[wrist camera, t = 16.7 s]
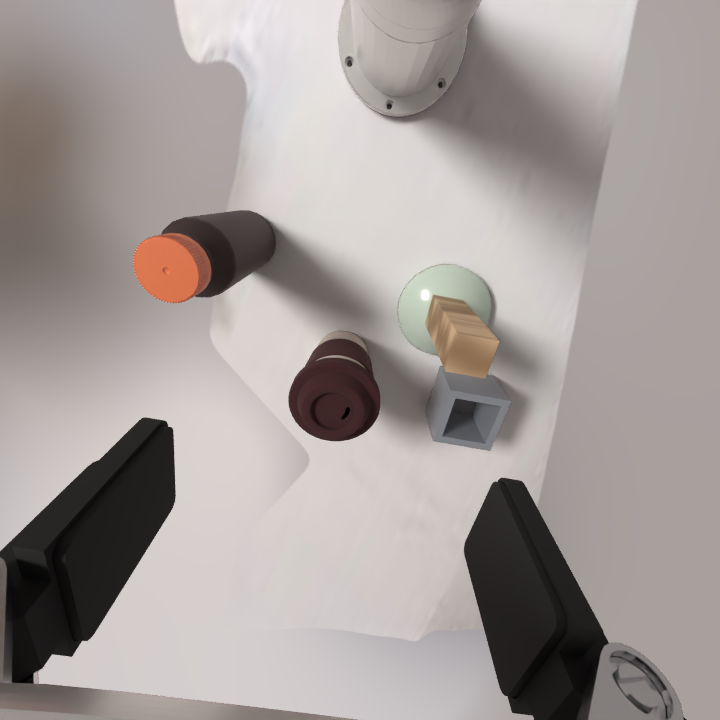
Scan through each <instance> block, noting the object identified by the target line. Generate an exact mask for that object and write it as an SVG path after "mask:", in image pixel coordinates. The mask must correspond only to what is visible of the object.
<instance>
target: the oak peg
mask: <svg viewBox="0 0 720 720" xmlns="http://www.w3.org/2000/svg"><path fill="white" fill-rule="evenodd" d="M425 325H426V328H427V330H428V332H429V334H430V337H431V339H432V341H433V344H434V346H435V348H436V351H437V353H438V355H439V358H440V360H441V362H442V364H443V367H444V369H445V371H446V372H451V373H456V374H462V375H468V376H473V377H479V378H485V379H486V376H487V373H488V371H489V368H490V366H491V363H492V360H493V358H494V355H495V352H496V350H497V347H498V344H499V342H500V341H499V340H498V339H497V337H496V336H495V335H494V334H493V333H492V332H491V331H490V330H489V328H488V327H487V326H486V325H485V324H484V323H483V322H482V321H481V319H480V318H479V317H478V316H477V315H476V314H475V313H474V312H473V311H472V309H471V308H470V307H469V306H468V305H467V304H466V303H465V302H464V300H459V299H454V298H449V297H443V296H438V295H433V296H432V300H431V304H430V307H429V311H428V314H427V318H426V322H425Z"/></svg>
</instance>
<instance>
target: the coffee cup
mask: <svg viewBox="0 0 720 720" xmlns="http://www.w3.org/2000/svg"><path fill="white" fill-rule="evenodd" d="M289 408H290V411H291V414H292V416H293V418H294V420H295V421H296V422H297V424H298V425H299V426H300V427H301V428H302V429H303V430H305V431H306V432H307V433H309V434H311V435H312V436H314V437H317V438H320V439H323V440H328V441H344V440H350V439H353V438H355V437H358V436H360V435H361V434H363V433H365V432H366V431H367V430H368V429H369V428H370V427H371V426H372V425H373V424H374V422H375V421H376V419H377V417H378V414H379V410H380V392H379V388H378V385H377V383H376V381H375V379H374V376H373V370H372V364H371V360H370V357H369V355H368V351H367V347H366V345H365V344H364V342H363V341H362V340H361V339H360V338H359V337H358V336H356V335H355V334H353V333H350V332H345V331H338V332H333V333H331V334H329V335H327V336H326V337H324V338H323V339H322V340H321V342H320V343H319V345H318V347H317V348H316V349H315V350H314V351H313V353H312V354H311V356H310V358H309V360H308V362H307V364H306V365H305V367H304V368H303V369H302V370H301V371H300V372H299V373H298V374H297V376H296V377H295V379H294V381H293V384H292V386H291V389H290V392H289Z"/></svg>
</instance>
